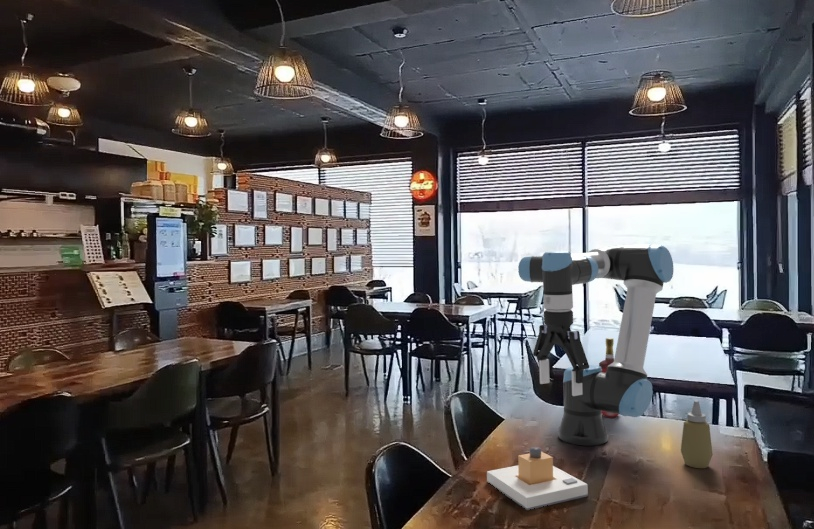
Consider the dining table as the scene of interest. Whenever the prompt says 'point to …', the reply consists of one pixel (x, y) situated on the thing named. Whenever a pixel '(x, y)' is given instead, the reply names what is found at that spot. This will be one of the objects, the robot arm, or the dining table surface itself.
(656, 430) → the dining table surface
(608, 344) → the liquor
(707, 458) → the squeeze bottle
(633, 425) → the dining table surface
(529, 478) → the plug
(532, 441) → the dining table surface
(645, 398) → the robot arm
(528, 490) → the socket
